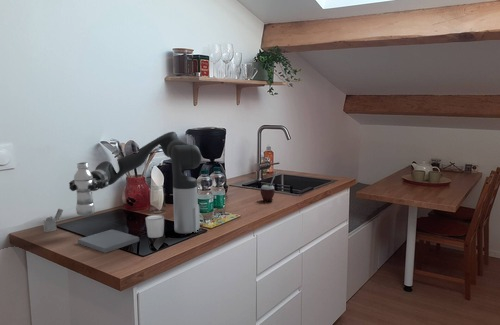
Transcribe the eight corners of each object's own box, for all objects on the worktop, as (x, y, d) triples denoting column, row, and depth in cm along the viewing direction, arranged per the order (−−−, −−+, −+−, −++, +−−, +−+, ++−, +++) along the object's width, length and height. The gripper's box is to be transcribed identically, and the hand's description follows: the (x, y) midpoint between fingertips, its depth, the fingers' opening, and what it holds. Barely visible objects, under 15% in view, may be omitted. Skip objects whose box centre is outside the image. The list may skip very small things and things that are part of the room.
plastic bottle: (88, 218, 148) (85, 164, 146) (72, 217, 150) (69, 164, 147) (98, 213, 155) (95, 162, 152) (83, 212, 156) (79, 161, 153)
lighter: (45, 232, 156) (43, 212, 155) (43, 231, 157) (42, 211, 156) (64, 228, 161) (63, 208, 159) (63, 227, 162) (61, 207, 161)
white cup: (157, 231, 156) (156, 213, 155) (168, 234, 152) (168, 216, 151) (142, 235, 151) (141, 217, 150) (153, 239, 147) (153, 220, 146)
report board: (139, 241, 145) (139, 237, 145) (105, 252, 134) (105, 248, 134) (112, 232, 154) (111, 229, 154) (78, 243, 143) (77, 239, 143)
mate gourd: (257, 200, 204) (257, 171, 202) (269, 198, 209) (269, 169, 207) (267, 203, 198) (267, 173, 196) (279, 201, 203) (279, 171, 201)
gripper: (114, 188, 166) (102, 197, 149) (78, 189, 165) (62, 198, 148) (113, 170, 165) (101, 177, 148) (77, 171, 164) (60, 178, 147)
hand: (81, 188), depth 148 cm, fingers closed on plastic bottle, 6 cm apart
